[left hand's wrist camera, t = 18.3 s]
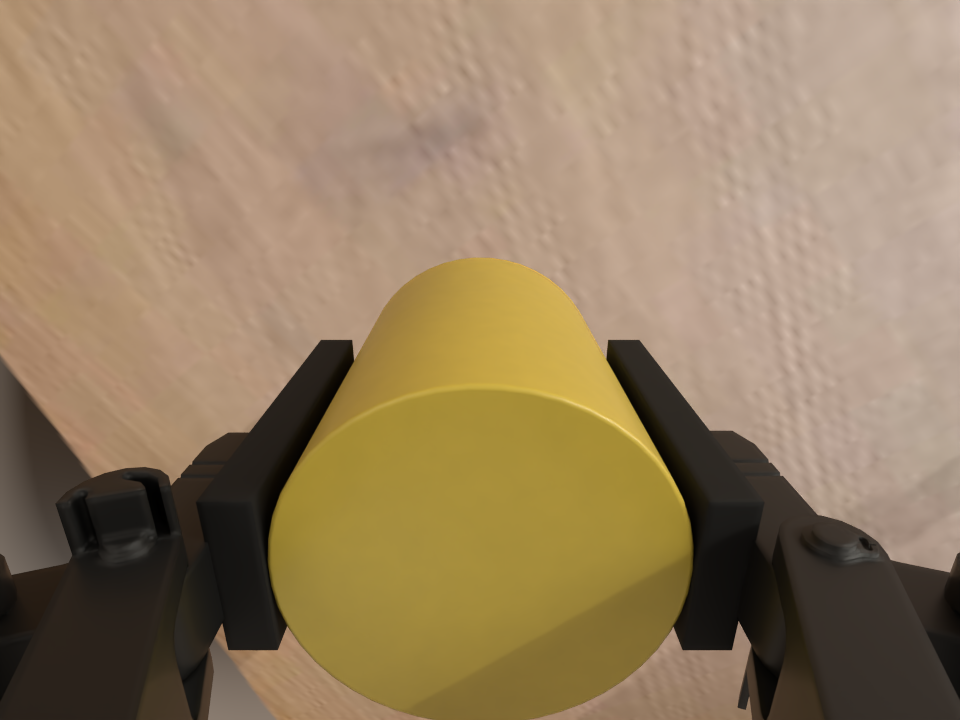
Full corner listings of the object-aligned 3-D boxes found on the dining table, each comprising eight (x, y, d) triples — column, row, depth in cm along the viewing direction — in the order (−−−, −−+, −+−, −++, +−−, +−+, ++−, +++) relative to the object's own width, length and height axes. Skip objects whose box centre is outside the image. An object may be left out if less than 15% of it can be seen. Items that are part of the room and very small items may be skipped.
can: (468, 500, 17) (459, 777, 10) (321, 356, 16) (175, 559, 8) (636, 380, 16) (776, 598, 8) (494, 206, 14) (511, 285, 7)
